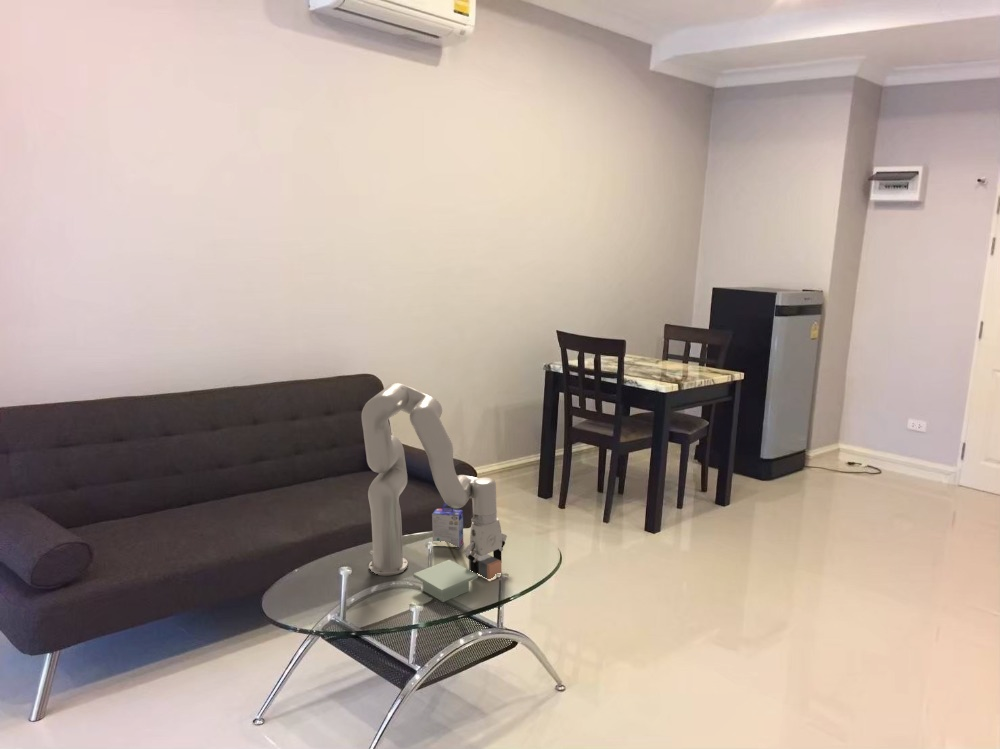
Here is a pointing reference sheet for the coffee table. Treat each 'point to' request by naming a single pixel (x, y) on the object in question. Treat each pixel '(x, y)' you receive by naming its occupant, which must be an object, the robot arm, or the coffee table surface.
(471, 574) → the stand
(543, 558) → the coffee table surface
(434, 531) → the ink cartridge box
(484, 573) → the block
